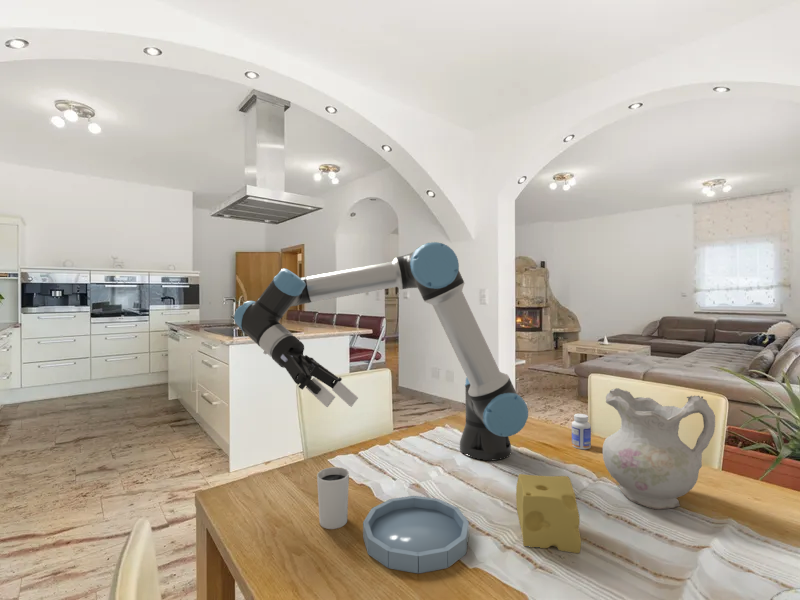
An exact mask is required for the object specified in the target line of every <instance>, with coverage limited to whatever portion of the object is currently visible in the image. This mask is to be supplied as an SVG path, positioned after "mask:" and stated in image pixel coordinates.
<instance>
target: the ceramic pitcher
mask: <svg viewBox="0 0 800 600" xmlns="http://www.w3.org/2000/svg"><path fill="white" fill-rule="evenodd" d="M686 399H687V402H685V405H684V406H683V407H678V406H675V405H663V404H661V403H658V401H655V400H654V399H653V398H651V397H644V396H643V397H642V396H641V397H635V396H633V394H632V393H631V392H630V391H628V390H624V389H620V388H617V387H616V388H613V389H611V390H609V392H608V393H607V394H606V396H605V403H606V404H607V405H609V406H610V407H613V408H614V409H615V410H616V411H617V412H618V414H619V417H620V419H621V423H620V424H621V425H620V428H619V429H618V430H617V431H616V432H614V433H612V434H610V435H608V436H607V437H606V438H605V440H604V441H603V445H602V458H603V463H604V466H605V468H606V470H607V471H608V473H609V474H610V476H611V477H612V478H613V479H614V480H615V481H616V482H617V483H618V484H617V488H618V487H619V488H620V489H619V488H618V489H619V490H620V492H621V493H622V494H623V495H624V496H625V497H626V498H627V499H628V500H629V501H631V502H632V503H636V504H637V505H640V506H644V507H647V508H649V509H652V510H662V509H663V510H665V509H674V508H677V507H680V506H681V504H680V502H679V500H678V498H679V497H680V498H681V497H683V496H685V495H686V494H688V493H689V492H690V491H692V489H693V488H694V486H695V485H696V483H697V481H698V479H699V471H700V469H701V468H702V466H703V465H702V459H703V453H704V451H705V449H707V448H708V446H709V444H710V442H711V439H712V438H713V437H714V434H715V430H716V429H715V428H716V414H715V412H714V410H713V409H712V407H710V405H709V403H708V401H707V399H704V396H700V395H689V396H686ZM698 413H699V414H700V415H701V416H702V421H703V428H702V431H701V432H700V434H699V436H698V438H697V439H696V443H695V445H694V447H693V448H690V447H689V446H688V445H687V444H685V443H684V442H683V441H682V440H681V438H680V436H679V429H680V423H681V421H682V419H684V418H687V417H688V416H691V415H693V414H698Z"/></svg>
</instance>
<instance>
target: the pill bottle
mask: <svg viewBox="0 0 800 600" xmlns="http://www.w3.org/2000/svg"><path fill="white" fill-rule="evenodd" d="M573 419H574V420H573V421H572V422H571V446H572V447H573V448H575V449H578V450H589V449H591V446H592V440H591V439H592V434H591V433H592V429H591V428H592V426H591V425H592V424H591V423H590V422H589V416H588V414H585V413H575V414H574V415H573Z"/></svg>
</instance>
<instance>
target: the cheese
mask: <svg viewBox="0 0 800 600" xmlns="http://www.w3.org/2000/svg"><path fill="white" fill-rule="evenodd" d="M515 489H516V491H515V492H516V493H515V501H516V502H515V503H516V505H515V506H516V513H517V517H518V523H519V526H520V530H521V536H522V537H521V538H522V542H523V543H522V544H523V546H524V547H525V546H530V547H529V548H534V547H540V548H539V549H549V548H550V547H555V548H556V549H557V550H558V551H562V552H568V553H573V554H580V552H581V548H582V539H581V538H582V537H581V534H580V514H579V509H578V504H577V497H576V493H575V490H574V488H573V484H572V481H571V478H569V476H566V475H555V476H554V475H553V476H552V475H534V474H523V473H522V474H521V473H519V474H518V477H517V482H516V487H515Z"/></svg>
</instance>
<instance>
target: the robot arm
mask: <svg viewBox="0 0 800 600" xmlns="http://www.w3.org/2000/svg"><path fill="white" fill-rule="evenodd" d="M459 267H460V265H459V259H458V256H457V254H456V253H455V251H454V250H453V249H452V248H451V247H450V246H449V245H447V244H445V243H443V242H437V241H436V242H435V241H434V242H433V241H431V242H427V243H424V244H422V245H421V246H419V247H417V248H416V249H415V250H414V251H412V252H410V253H408V254H405V255H401V256H396V257H394V258H393V260H392V261H387V262H382V263H376V264H370V265H366V266H365V265H364V266H359V267H354V268H348V269H343V270H338V271H331V272H327V273H321V274H320V273H319V274H316V275H314V274H313V275H309V276H302V277H300V276H299V275H297V274H296V273H294V272H293V271H291V270H289V269H288V268H281V269H280V271H279V272H278V273H277V274H276V275H274V277H273V279H272V281H271V282H270V283H269V284H268V285H267V287H266V289H264V291H263V292H262V293H261V294H260V295H259V296H260V297H258V299H257V300H256V301H254V300H247V301H244V303H242V305H239V306H238V308H236V310H235V312H234V316H233V321H234V323H235V324H236V326H237V327H239V328H240V330H241V331H242V333H244V334H245V335H247V336H248V338H250V340H252V341H253V342H254V343H255V344H257V345H258V347H260V349H261V350H263V354H264V355H268V356H269V357H271V359H272V360H273V361H274V362H275V363H276V364H277V365H278V366H279V367H280V368H282V369H283V368H284V369H285V370H286V372H287V373H288V374H289V376H290V377H291V379H292V380H293V382H294V383H295V384H296V385H298V388H299V389H300V390H304V389H307V391H309V393H311V394H312V395H313V396H314V397H315V398H316V399H317V400H319V402H320V403H321V404H322V405H324V407H325V408H328V407H330V405H331V404H332V402H333V401H334V400H335V398H336V396H335V395H334V394H333V393H335V394H336V395H337V396H338V397H339V399H340V398H341V400H342V401H344V402H345V403H346V404H347V405H348V406H349V407H351V408H352V407H353V406H354V404H355V403H356V402H357V400H358V399H359V397H358V396H357V395H356V394H355V393H354V392H352V391H351V390H350V389H349V388H348V387H347V386H346V385H345V384H344V383H342V380H343V378H342V377H341V376H339V377H338V376H337V375H336V374H334V373H333V372H331V371H330V370H329V369H328V368H326V367H324V366H323V365H322V364H320V363H319V362H318V361H316V360H315V359H314V357H310V356H308V355H307V354H305V355H304V351H305V345H304V343H303V342H302V341H301V340H300V339H298V338H297V337H296V336H295V335H294V334H293V333H292V332H291V331H290V330H289V329H287V328H286V327H285V326H284V325H282V324H281V322H280V320H281V319H282V318H283V317H284V316H285V314H286V313H287V312H288V311H289V309H290V308H291V307H296V306H299V305H304V304H310V303H315V302H316V303H317V302H320V301H325V300H332V299H337V298H342V297H348V296H354V295H358V294H359V295H360V294H364V293H370V292H377V291H382V290H387V289H391V288H392V289H393V288H398V289H399V290H406V289H418V291H419V293H420V295H421V298H422V299H423V301H424V303H427V304H429V305H431V306H432V307H433V309H434V312H435V313H436V315H437V318H438V320H439V322H440V324H441V326H442V329H443V330H444V332H445V334H446V337H447V338H448V340H449V343H450V345H451V347H452V349H453V352H454V353H455V355H456V357H457V359H458V361H459V363H460V366H461V368H462V370H463V373H464V374H465V376H466V377H465V384H464V390H465V391H464V393H465V425H464V428H463V431H462V435H461V437H460V440H459V451H460V452H461V453H462V454H463V453H465V454H468V455H470V456H472V457H473V458H472V459H475V458H477V459H476V460H480V459H483V461H493V460H492V459H500V458H504V457H507V456H508V457H510V456H509V455H511V454H512V444H511V441H510V438H509V437H512V436H515V435H516V434H518V433H519V432H521V430H522V429H523V428H524V427H525V426H526V423H527V421H528V419H529V408H528V405H527V403H526V402H525V400H524V399H523V397H522V396H521V395H519V394H518V393H517V391H516V388H515V387H514V384H513V381H511V379H510V376H509V375H508V374H507V373H504V372H501V370H500V368H499V366H498V364H497V363H496V359H495V358H494V357H493V354H492V351H491V349H490V347H489V345H488V343H487V342H486V339H485V336H484V334H483V333H482V331H481V328H480V326H479V324H478V322H477V320H476V318H475V316H474V314H473V312H472V309H471V307H470V305H469V303H468V301H467V299H466V297H465V294H464V293H463V288H464V285H465V280H464V278H463V276H462V274H461V272H460V270H459V269H460V268H459ZM323 384H325V385H327V387H329V388H331V389H332V391H333V393H332V392H331V391H330V389H328V388H327V387H326V386H325V385H323ZM510 453H511V454H510ZM508 457H507V458H508ZM504 459H505V458H504ZM500 460H501V459H500Z"/></svg>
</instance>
